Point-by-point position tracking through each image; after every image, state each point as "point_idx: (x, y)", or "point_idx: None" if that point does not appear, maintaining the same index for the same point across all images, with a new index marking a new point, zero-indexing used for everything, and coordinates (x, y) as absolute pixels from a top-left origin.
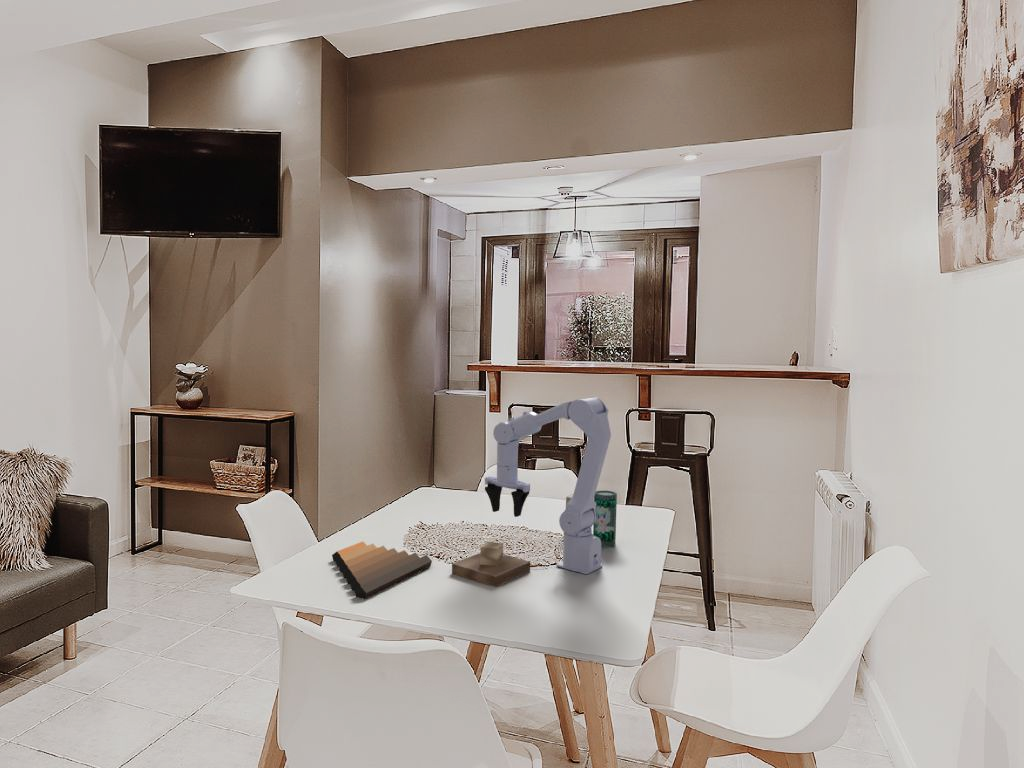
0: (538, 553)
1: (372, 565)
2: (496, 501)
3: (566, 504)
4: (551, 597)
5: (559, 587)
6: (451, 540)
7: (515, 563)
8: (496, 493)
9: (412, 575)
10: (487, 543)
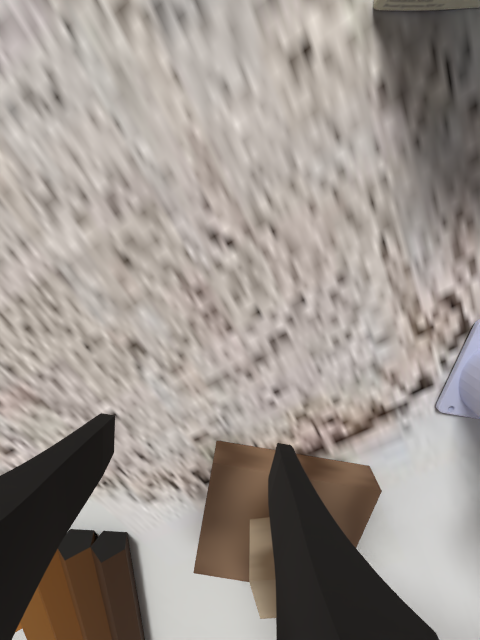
0: (337, 321)
1: (59, 633)
2: (71, 491)
3: None
4: (467, 564)
5: (475, 518)
6: (3, 347)
7: (344, 517)
8: (17, 570)
9: (134, 578)
10: (263, 593)
